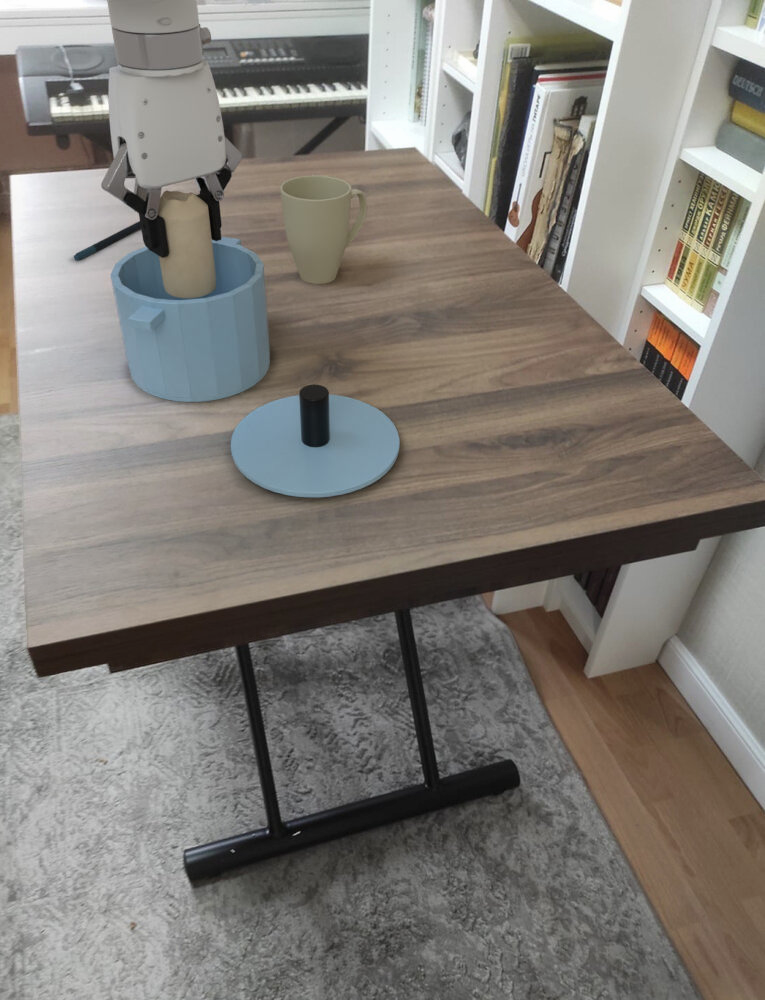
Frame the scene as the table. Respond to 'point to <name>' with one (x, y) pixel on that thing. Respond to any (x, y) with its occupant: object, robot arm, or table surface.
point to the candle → (187, 246)
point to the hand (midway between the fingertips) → (184, 243)
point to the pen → (107, 241)
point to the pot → (194, 326)
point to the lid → (315, 444)
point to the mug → (319, 223)
